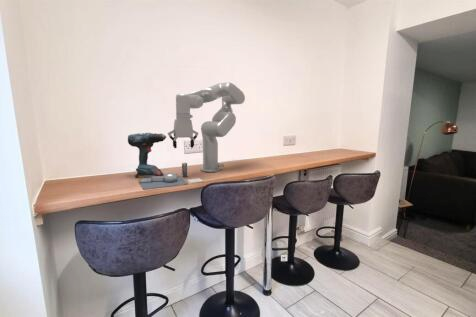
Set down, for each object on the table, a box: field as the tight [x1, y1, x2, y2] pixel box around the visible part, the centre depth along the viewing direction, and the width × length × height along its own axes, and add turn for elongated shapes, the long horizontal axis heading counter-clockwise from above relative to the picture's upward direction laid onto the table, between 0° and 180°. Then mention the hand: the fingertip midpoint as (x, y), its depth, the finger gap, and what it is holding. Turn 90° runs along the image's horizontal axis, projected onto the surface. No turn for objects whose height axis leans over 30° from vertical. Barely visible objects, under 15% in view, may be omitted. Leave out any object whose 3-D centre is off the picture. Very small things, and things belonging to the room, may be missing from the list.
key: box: [181, 162, 188, 178], centre depth 137 cm, size 3×3×8 cm
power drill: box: [127, 132, 167, 179], centre depth 135 cm, size 9×23×25 cm, turn 79°
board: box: [137, 175, 190, 191], centre depth 126 cm, size 22×19×1 cm
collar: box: [138, 172, 178, 183], centre depth 126 cm, size 19×7×4 cm, turn 95°
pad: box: [186, 177, 204, 184], centre depth 129 cm, size 7×7×1 cm
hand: (183, 147), depth 135 cm, fingers open, 9 cm apart
